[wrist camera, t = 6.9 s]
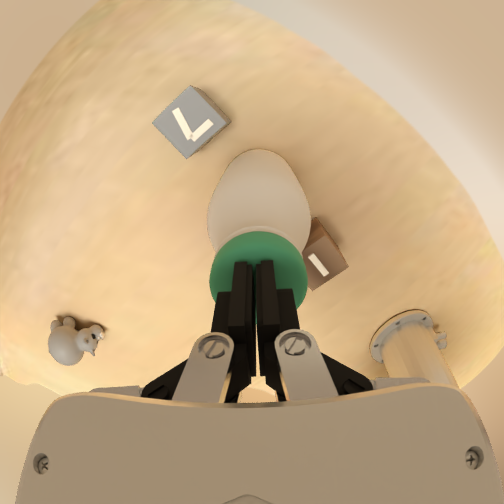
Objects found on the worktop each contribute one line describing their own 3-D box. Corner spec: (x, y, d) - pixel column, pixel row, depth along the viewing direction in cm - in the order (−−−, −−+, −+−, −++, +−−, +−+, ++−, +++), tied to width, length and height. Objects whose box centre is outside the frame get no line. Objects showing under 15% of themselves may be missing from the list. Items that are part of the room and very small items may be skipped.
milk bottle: (222, 149, 28) (160, 213, 11) (293, 148, 28) (353, 209, 10) (226, 215, 32) (189, 347, 14) (292, 214, 32) (330, 345, 14)
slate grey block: (200, 89, 25) (189, 85, 21) (231, 121, 27) (226, 123, 22) (167, 120, 27) (151, 123, 22) (197, 151, 28) (186, 159, 24)
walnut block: (315, 217, 32) (325, 235, 27) (337, 246, 34) (349, 267, 29) (282, 241, 34) (286, 262, 29) (305, 268, 35) (312, 291, 31)
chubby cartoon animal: (113, 333, 46) (113, 365, 39) (63, 344, 43) (58, 375, 36) (98, 304, 43) (94, 336, 36) (46, 317, 39) (37, 348, 32)
